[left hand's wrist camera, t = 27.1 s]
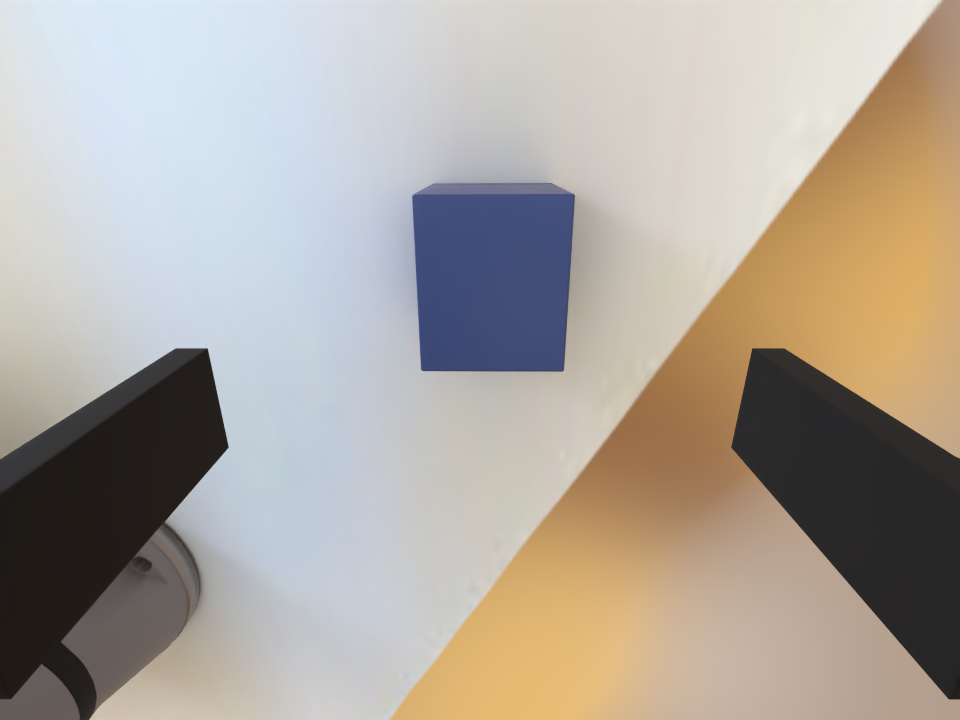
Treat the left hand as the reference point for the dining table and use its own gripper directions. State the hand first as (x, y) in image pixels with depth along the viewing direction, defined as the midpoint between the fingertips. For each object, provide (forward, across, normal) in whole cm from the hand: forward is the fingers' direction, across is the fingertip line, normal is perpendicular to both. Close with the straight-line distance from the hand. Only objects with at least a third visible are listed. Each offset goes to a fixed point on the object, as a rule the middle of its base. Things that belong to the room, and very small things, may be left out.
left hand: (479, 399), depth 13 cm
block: (+18, -1, 0) cm, 18 cm away
